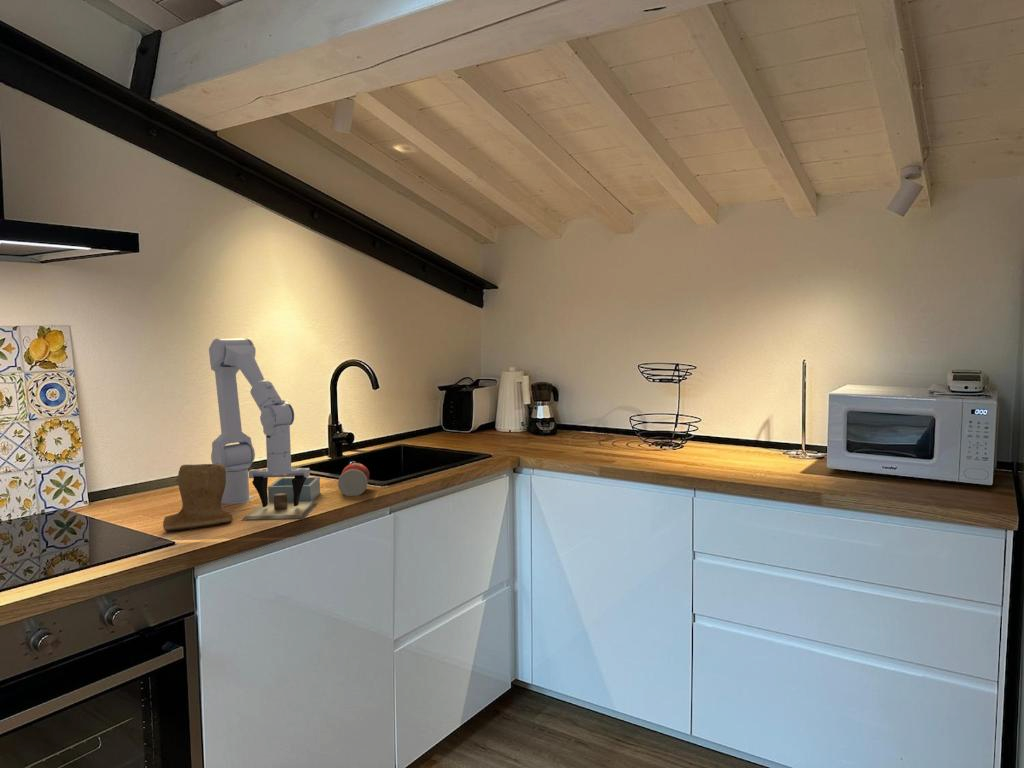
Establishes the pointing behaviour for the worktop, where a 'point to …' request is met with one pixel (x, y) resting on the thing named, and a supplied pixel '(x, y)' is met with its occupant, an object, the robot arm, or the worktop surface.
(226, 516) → the brown flared stand
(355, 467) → the canned food
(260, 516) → the birch lid
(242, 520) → the rubber mat
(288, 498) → the gray lidded box
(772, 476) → the worktop surface
